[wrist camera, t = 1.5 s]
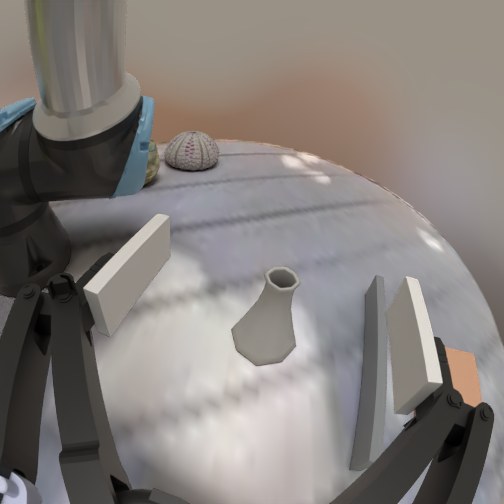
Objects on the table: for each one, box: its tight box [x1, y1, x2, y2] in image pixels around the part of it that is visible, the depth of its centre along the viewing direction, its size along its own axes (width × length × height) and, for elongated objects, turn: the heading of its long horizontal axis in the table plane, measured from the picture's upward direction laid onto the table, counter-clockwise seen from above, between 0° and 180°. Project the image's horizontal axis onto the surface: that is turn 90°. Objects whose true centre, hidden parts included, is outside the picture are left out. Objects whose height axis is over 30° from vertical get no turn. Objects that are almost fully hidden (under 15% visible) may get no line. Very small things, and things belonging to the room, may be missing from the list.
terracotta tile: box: [414, 347, 482, 417], centre depth 29 cm, size 12×12×1 cm
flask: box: [231, 266, 300, 365], centre depth 30 cm, size 7×7×10 cm
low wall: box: [350, 275, 387, 471], centre depth 30 cm, size 26×1×4 cm, turn 162°
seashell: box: [144, 140, 160, 185], centre depth 55 cm, size 11×11×10 cm
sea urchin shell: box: [164, 131, 219, 170], centre depth 66 cm, size 13×14×8 cm
